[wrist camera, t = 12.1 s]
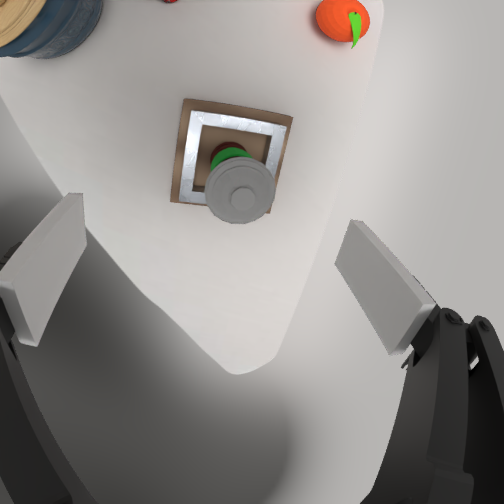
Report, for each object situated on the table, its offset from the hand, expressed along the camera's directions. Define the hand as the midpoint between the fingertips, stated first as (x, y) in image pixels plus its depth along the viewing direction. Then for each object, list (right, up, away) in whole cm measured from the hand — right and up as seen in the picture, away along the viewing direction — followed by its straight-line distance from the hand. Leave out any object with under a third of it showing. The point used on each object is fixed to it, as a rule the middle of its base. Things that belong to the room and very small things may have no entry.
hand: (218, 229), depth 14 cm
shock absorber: (-2, +11, +23) cm, 26 cm away
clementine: (+12, +30, +16) cm, 36 cm away
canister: (-24, +31, +9) cm, 40 cm away
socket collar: (-1, +11, +23) cm, 26 cm away
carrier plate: (-2, +12, +25) cm, 27 cm away
